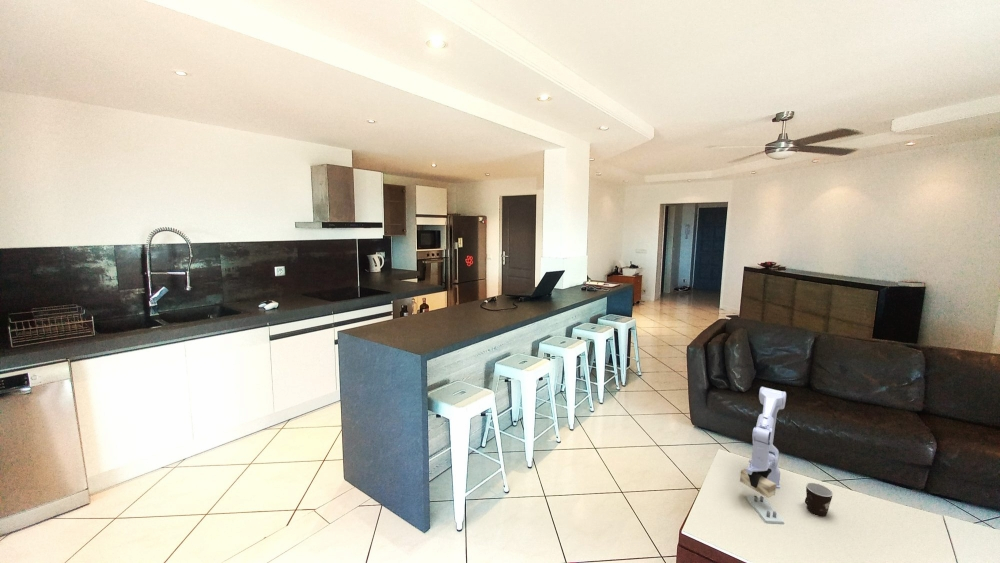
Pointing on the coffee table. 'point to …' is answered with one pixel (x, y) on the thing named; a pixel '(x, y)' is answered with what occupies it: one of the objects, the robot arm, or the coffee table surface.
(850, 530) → the coffee table surface
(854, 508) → the coffee table surface
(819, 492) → the coffee mug
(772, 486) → the wooden block
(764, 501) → the peg plate
